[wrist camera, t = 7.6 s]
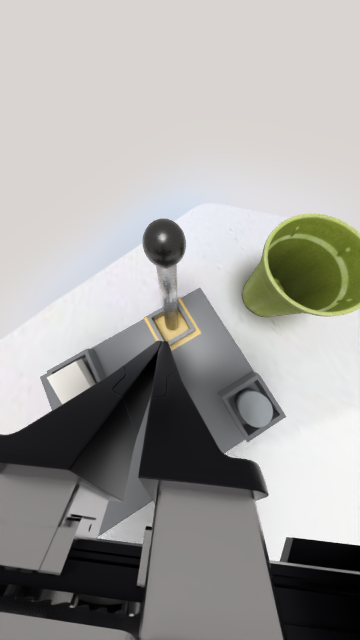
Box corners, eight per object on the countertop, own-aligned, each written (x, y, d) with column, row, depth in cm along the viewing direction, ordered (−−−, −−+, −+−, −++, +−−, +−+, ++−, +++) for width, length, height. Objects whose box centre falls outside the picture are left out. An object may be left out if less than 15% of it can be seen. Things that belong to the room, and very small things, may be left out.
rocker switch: (104, 398, 16) (99, 403, 15) (77, 414, 15) (71, 420, 14) (81, 358, 16) (75, 361, 15) (54, 373, 15) (46, 377, 14)
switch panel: (268, 405, 18) (296, 425, 13) (110, 507, 16) (83, 568, 12) (197, 293, 21) (201, 279, 16) (58, 372, 19) (20, 380, 15)
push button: (271, 410, 15) (279, 416, 13) (247, 426, 14) (252, 434, 13) (254, 383, 15) (260, 387, 14) (230, 398, 15) (234, 403, 14)
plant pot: (287, 262, 21) (356, 206, 13) (305, 323, 20) (399, 306, 11) (225, 270, 21) (253, 220, 13) (238, 333, 20) (280, 323, 11)
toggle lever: (181, 335, 16) (185, 233, 7) (158, 333, 16) (132, 231, 7) (183, 315, 17) (187, 211, 8) (162, 314, 17) (143, 209, 8)
